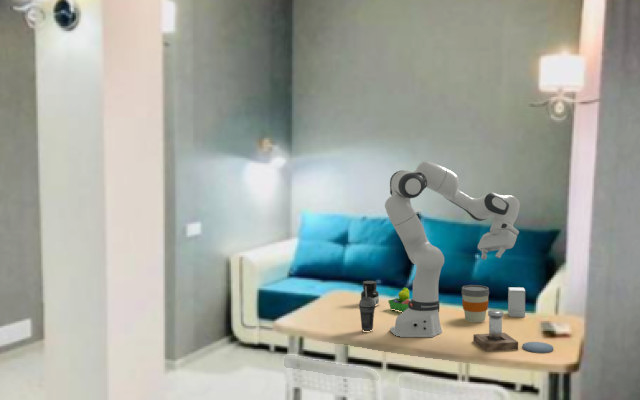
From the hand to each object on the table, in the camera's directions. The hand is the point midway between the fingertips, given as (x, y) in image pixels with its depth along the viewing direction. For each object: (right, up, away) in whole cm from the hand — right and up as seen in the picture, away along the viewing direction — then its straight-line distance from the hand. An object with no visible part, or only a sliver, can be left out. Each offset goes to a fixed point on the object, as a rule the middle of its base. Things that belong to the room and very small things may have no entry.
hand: (490, 258), depth 304 cm
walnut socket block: (-1, -35, -14) cm, 37 cm away
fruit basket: (-33, -30, +43) cm, 62 cm away
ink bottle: (-48, -29, +55) cm, 78 cm away
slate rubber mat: (+14, -35, -19) cm, 42 cm away
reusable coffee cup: (-1, -31, +25) cm, 40 cm away
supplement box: (+20, -30, +32) cm, 48 cm away
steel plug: (-1, -35, -14) cm, 37 cm away
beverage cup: (-52, -33, +9) cm, 63 cm away
